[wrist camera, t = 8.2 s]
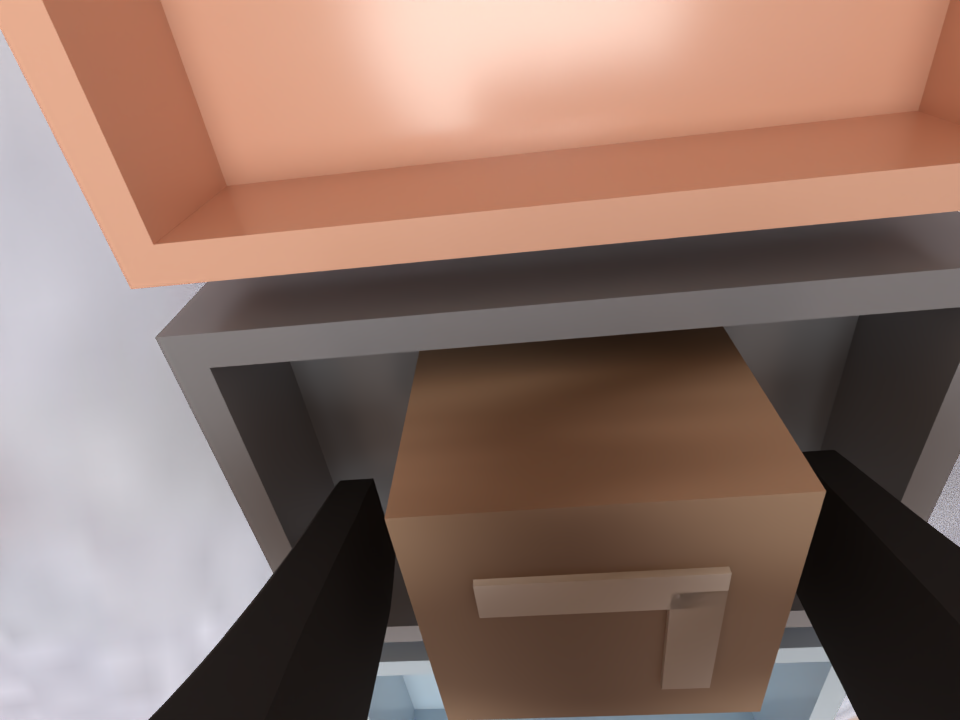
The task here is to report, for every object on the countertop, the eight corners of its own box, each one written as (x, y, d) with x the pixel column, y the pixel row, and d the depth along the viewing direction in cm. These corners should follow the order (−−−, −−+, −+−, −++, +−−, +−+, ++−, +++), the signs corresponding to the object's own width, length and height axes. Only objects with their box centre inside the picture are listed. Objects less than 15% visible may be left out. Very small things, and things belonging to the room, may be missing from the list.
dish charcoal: (912, 187, 10) (1051, 260, 7) (813, 511, 14) (879, 624, 12) (232, 254, 11) (155, 337, 8) (339, 537, 16) (309, 645, 13)
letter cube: (697, 285, 11) (831, 497, 6) (678, 480, 13) (762, 718, 9) (427, 311, 11) (382, 525, 7) (463, 494, 14) (448, 727, 10)
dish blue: (807, 533, 15) (868, 645, 12) (758, 693, 19) (796, 799, 17) (347, 555, 16) (319, 664, 13) (402, 703, 21) (389, 804, 18)
